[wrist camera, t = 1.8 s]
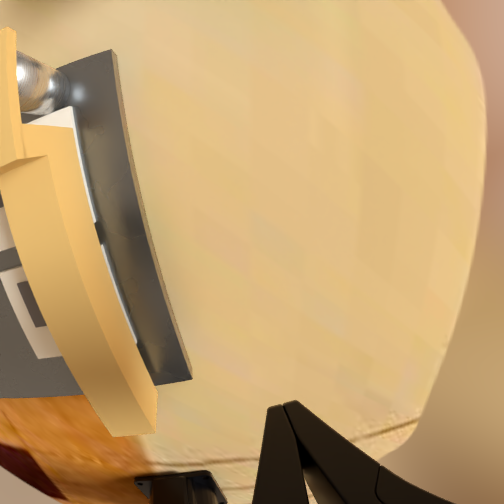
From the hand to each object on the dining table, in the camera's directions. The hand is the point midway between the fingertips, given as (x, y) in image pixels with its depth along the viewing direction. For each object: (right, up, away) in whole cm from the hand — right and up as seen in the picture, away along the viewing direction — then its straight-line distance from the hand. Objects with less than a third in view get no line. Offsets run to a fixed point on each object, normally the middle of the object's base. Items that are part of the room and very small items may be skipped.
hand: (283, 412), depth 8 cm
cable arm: (-8, +4, +4) cm, 10 cm away
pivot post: (-9, +11, +3) cm, 15 cm away
